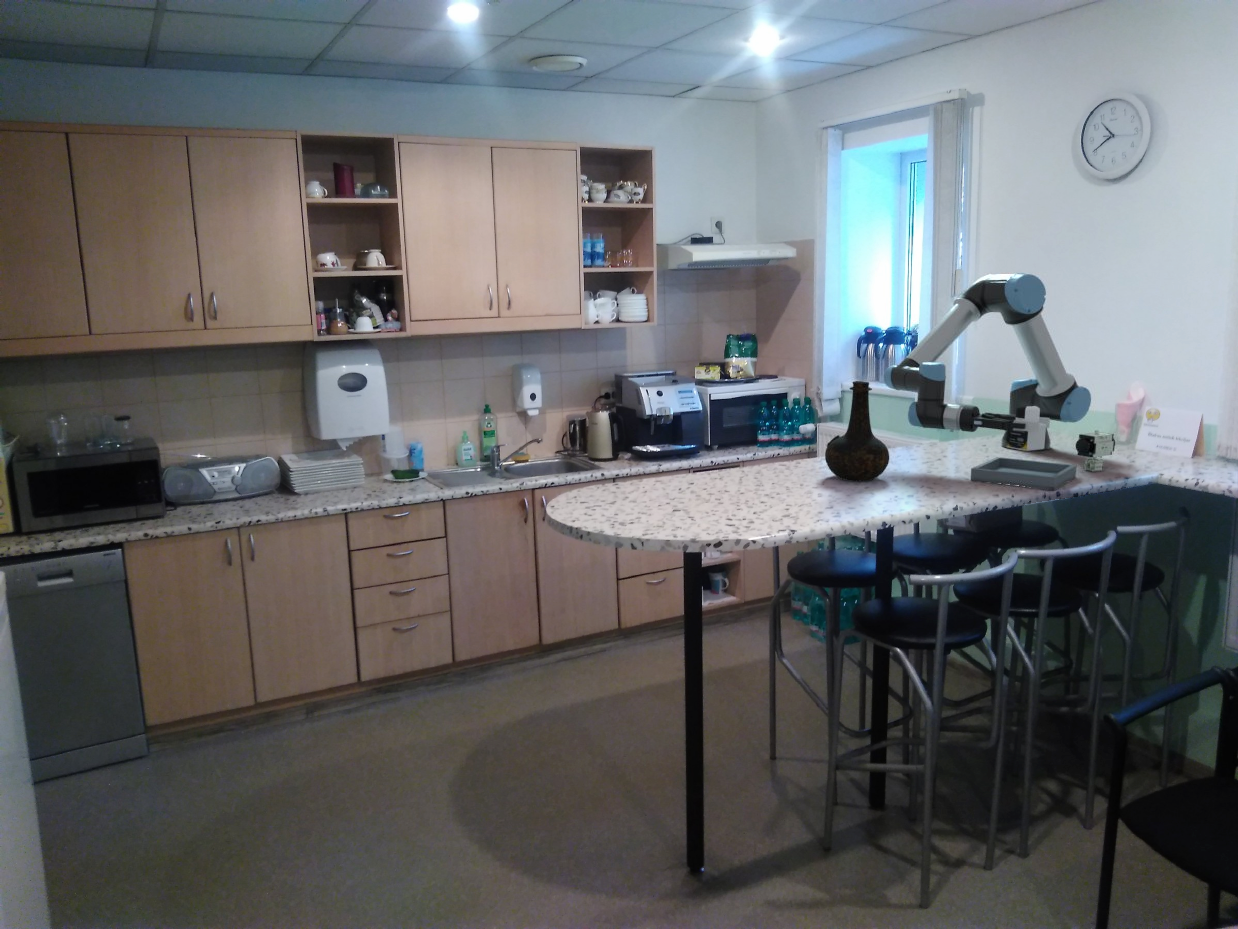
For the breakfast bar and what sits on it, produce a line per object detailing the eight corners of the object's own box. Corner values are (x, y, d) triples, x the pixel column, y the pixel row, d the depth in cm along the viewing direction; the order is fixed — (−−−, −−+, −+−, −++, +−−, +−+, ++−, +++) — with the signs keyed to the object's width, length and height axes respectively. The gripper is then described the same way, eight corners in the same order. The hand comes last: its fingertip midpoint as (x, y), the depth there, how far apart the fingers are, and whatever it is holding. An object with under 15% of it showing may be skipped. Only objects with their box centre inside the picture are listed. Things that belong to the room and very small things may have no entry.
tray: (996, 468, 274) (996, 456, 273) (1075, 477, 260) (1076, 465, 259) (970, 480, 257) (971, 468, 257) (1053, 491, 243) (1055, 478, 243)
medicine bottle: (1005, 447, 259) (1008, 405, 256) (1023, 445, 262) (1027, 403, 259) (1026, 451, 252) (1029, 408, 250) (1044, 449, 255) (1048, 406, 253)
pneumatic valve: (1072, 471, 268) (1076, 430, 266) (1099, 467, 274) (1102, 427, 271) (1089, 474, 264) (1093, 433, 261) (1116, 470, 269) (1119, 430, 266)
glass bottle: (835, 470, 274) (838, 377, 269) (895, 475, 265) (900, 379, 260) (815, 481, 259) (818, 382, 254) (878, 487, 250) (883, 385, 245)
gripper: (974, 426, 276) (1053, 433, 262) (947, 435, 259) (1031, 443, 245) (976, 401, 274) (1056, 407, 260) (949, 409, 258) (1033, 415, 244)
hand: (1044, 424), depth 253 cm, fingers closed on medicine bottle, 9 cm apart
